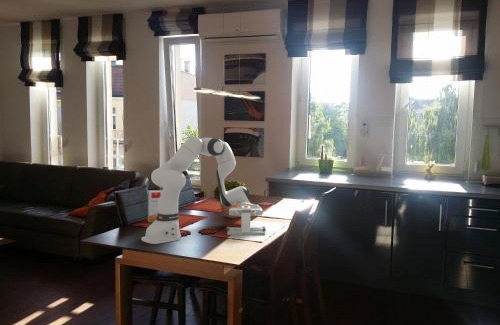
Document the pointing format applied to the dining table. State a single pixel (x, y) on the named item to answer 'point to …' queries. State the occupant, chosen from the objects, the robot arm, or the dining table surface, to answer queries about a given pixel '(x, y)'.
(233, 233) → the mounting board
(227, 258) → the dining table surface
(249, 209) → the block
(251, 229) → the rail
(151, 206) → the hard drive box
